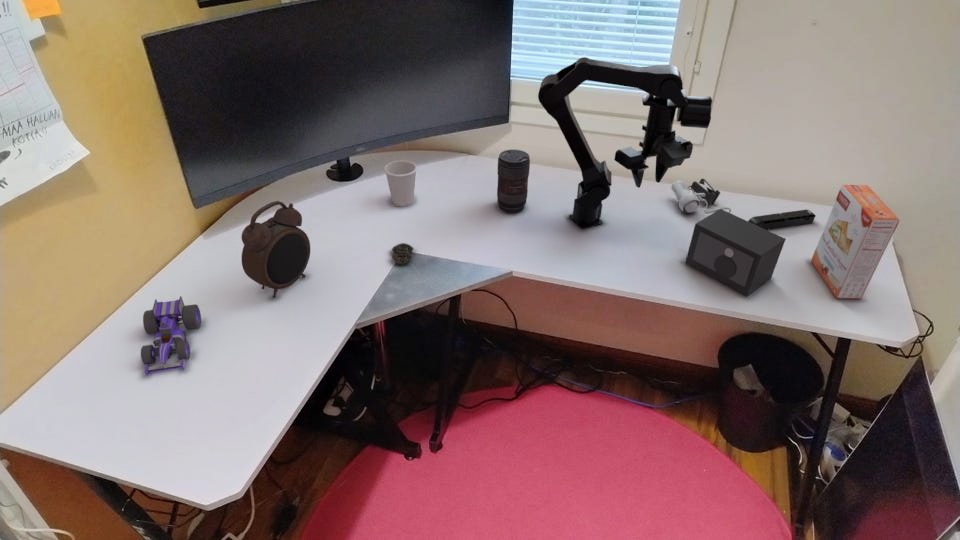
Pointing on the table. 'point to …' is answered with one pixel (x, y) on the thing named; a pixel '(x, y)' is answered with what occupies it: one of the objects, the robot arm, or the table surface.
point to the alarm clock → (275, 248)
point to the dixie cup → (401, 181)
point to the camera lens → (512, 180)
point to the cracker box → (853, 241)
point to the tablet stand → (783, 219)
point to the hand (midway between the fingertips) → (647, 184)
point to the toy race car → (168, 333)
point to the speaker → (734, 251)
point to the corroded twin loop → (402, 253)
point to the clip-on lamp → (695, 195)
